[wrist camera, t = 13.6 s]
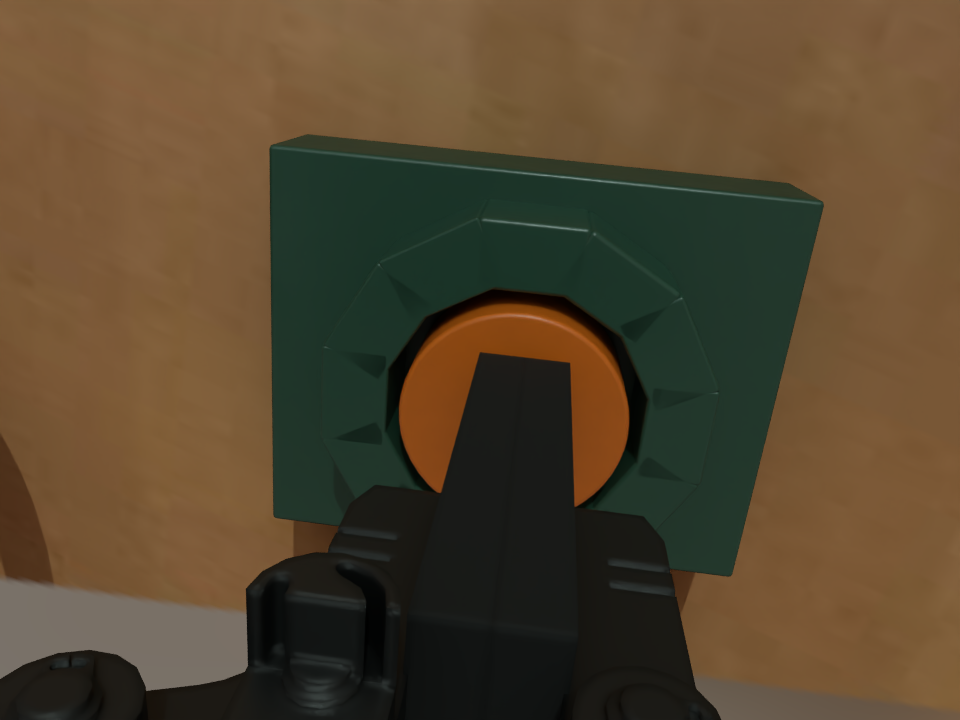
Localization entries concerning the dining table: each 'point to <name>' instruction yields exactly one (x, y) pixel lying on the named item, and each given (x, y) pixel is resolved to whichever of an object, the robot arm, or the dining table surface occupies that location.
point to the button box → (537, 270)
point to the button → (523, 333)
